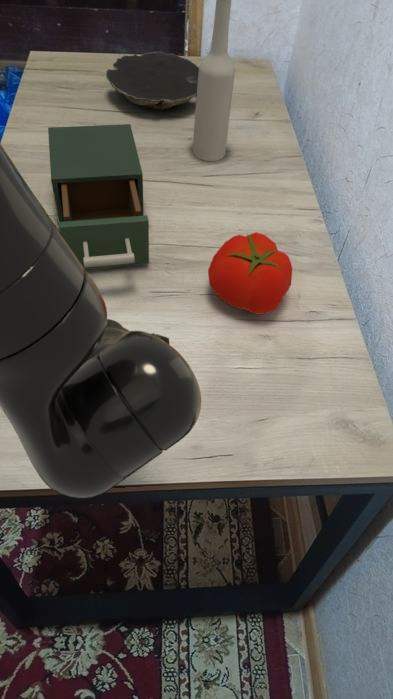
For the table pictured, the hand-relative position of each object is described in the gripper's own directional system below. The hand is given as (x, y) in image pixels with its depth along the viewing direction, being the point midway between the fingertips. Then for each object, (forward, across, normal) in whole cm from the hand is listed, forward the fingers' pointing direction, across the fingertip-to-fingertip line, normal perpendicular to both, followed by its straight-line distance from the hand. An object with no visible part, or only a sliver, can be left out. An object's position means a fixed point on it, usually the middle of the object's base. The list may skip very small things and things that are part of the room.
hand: (105, 345), depth 61 cm
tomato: (+11, -22, -4) cm, 25 cm away
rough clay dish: (+55, -18, -48) cm, 75 cm away
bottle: (+38, -25, -31) cm, 55 cm away
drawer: (+19, -2, -13) cm, 23 cm away
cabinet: (+28, -2, -22) cm, 36 cm away
